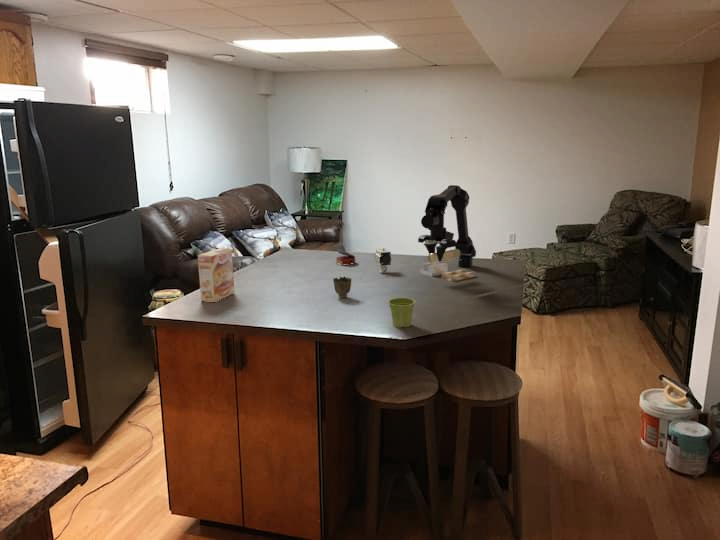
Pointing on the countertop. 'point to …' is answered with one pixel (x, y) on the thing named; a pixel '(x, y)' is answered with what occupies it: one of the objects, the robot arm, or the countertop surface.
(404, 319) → the plant pot
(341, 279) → the cup
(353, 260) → the canned food
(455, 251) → the axle
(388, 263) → the pneumatic valve
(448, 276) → the beam
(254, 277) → the countertop surface
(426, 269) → the cradle
